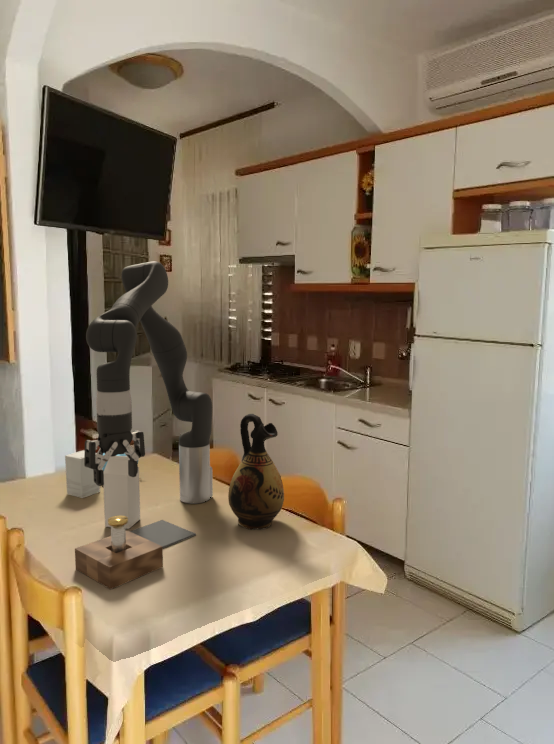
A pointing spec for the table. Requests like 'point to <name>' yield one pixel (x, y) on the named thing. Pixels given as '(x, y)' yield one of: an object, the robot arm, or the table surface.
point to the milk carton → (121, 491)
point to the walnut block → (118, 560)
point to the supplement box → (79, 476)
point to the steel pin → (118, 533)
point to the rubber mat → (163, 533)
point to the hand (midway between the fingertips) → (116, 480)
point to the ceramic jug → (256, 479)
